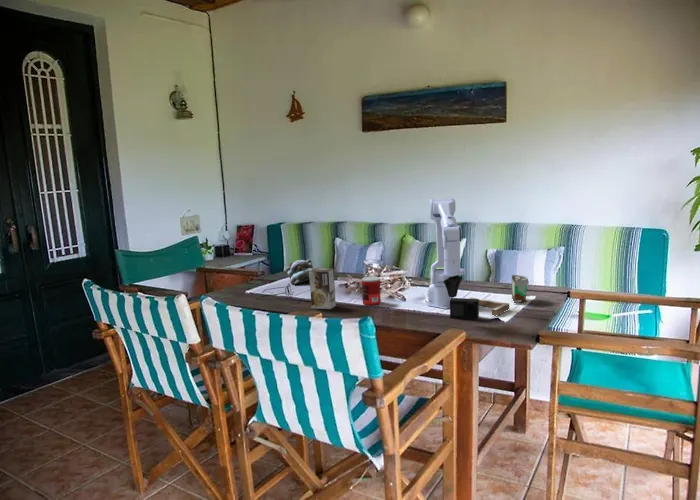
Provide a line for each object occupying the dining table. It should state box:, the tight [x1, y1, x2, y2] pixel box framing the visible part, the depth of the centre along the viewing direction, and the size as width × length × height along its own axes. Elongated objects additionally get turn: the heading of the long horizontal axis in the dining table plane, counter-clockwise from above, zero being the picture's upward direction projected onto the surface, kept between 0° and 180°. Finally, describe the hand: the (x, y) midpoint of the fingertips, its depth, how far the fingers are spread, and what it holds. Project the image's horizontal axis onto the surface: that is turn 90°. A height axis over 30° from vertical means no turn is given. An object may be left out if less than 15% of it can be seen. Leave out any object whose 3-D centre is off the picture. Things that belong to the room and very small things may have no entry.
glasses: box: [256, 282, 292, 300], centre depth 248 cm, size 14×15×5 cm
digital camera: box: [449, 297, 480, 320], centre depth 199 cm, size 10×5×7 cm, turn 71°
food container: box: [511, 274, 530, 304], centre depth 218 cm, size 12×6×10 cm, turn 168°
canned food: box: [361, 276, 382, 307], centre depth 225 cm, size 8×8×11 cm
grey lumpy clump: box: [285, 257, 314, 286], centre depth 273 cm, size 15×12×14 cm
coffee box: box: [309, 267, 337, 310], centre depth 222 cm, size 9×6×16 cm
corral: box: [467, 297, 510, 317], centre depth 208 cm, size 17×11×3 cm, turn 46°
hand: (452, 296), depth 192 cm, fingers closed
